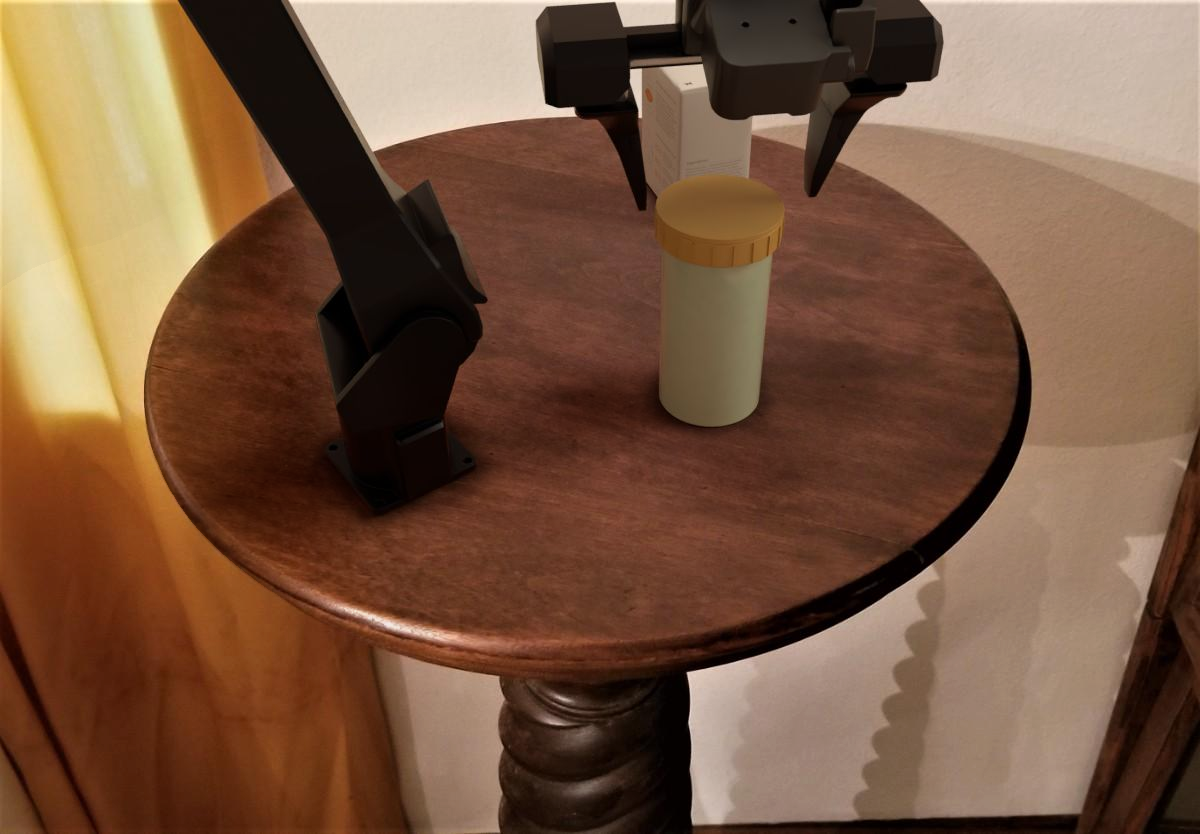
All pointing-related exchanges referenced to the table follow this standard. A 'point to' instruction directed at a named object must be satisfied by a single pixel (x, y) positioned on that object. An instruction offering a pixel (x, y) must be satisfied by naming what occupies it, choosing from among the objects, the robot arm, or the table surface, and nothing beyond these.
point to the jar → (712, 339)
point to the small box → (688, 129)
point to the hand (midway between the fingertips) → (726, 200)
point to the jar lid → (719, 220)
